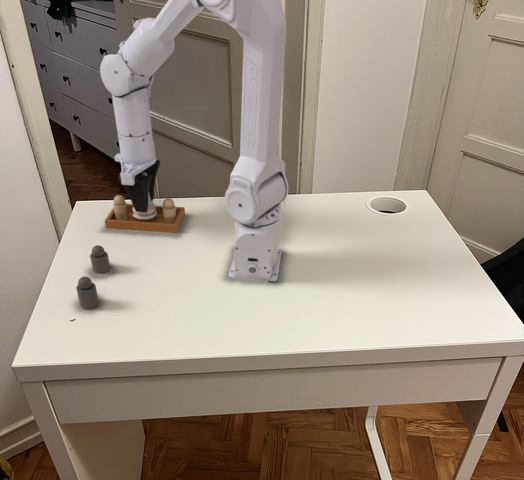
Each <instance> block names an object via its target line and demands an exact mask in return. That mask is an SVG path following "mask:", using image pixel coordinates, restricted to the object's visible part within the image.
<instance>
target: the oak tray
mask: <svg viewBox="0 0 524 480" xmlns="http://www.w3.org/2000/svg"><path fill="white" fill-rule="evenodd" d="M154 205H155V206H156V211H157V214H156V216H155V218H153V219H151V220H146V221H141V220H137V219H136V218H135V217H134V216H133V204H132V203H127V210H128V216H129V220H128V221H123V220H116V218H115V212H114V207H113V208H112V209H111V211H110V212H109V213H108V215H107V217H106V218H105V219H104V224H105V229H109V230H123V231H138V232H150V233H151V232H153V233H169V234H177V233H178V231H179V229H180V228H181V226H182V223H183V221H184V218H185V216H186V209H185V207H184V206H176V216H177V218H176V220H175V222H174V224H168V223H164V218H163V209H162V207H163V205H157V204H154Z"/></svg>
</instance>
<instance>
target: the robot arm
mask: <svg viewBox="0 0 524 480" xmlns="http://www.w3.org/2000/svg"><path fill="white" fill-rule="evenodd" d="M204 9H207V10H208V11H210V12H211V13H213V14H214V15H215V16H216V17H218V18H219V19H221V20H222V21H223V22H225V23H226V25H228V26H230V27H231V28H233V29H234V30H235V31H236V33H237V34H238V35H239V36H240V37H241V38H242V41H243V45H242V47H243V50H242V79H241V111H240V112H241V114H240V139H239V140H240V142H239V143H240V144H239V145H240V146H239V147H240V148H239V157H238V159H237V161H236V163H235V166H234V167H233V169H232V171H231V172H230V176H229V185H228V187H227V189H226V190H225V193H224V205H225V209H226V210H227V212H228V214H229V215H230V217H231V218H232V220H233V222H234V246H233V253H234V255H233V258H232V262H231V266H230V269H229V272H228V277H229V278H237V279H252V280H264V281H268V282H277V281H278V278H279V272H280V266H281V260H282V252H283V251H282V250H281V249H280V248H279V241H280V240H279V239H280V238H279V237H280V215H281V213H280V211H281V209H282V207H281V206H282V203H283V202H284V201H285V200H286V198H287V197H288V195H289V191H290V190H289V189H290V188H289V186H290V185H289V182H288V181H289V180H288V178H287V174H286V162H285V161H284V160H283V159H282V158H280V157H279V156H278V144H279V133H280V121H281V119H280V118H281V105H282V95H283V92H282V91H283V81H284V67H285V66H284V65H285V54H286V43H287V42H286V41H287V19H286V15H285V12H284V8H283V4H282V0H167V1H166V3H165V5H164V6H163V7H162V9H161V10H160V11H159V13H158V14H157V16H156V17H145V18H140V19H137V20H136V21H135V22H134V23H133V28H134V30H133V31H132V33H131V34H130V35H129V37H128V38H127V39H126V40H124V41H121V42H120V43H119V45H118V47H119V49H118V51H117V53H115V54H113V53H111V54H110V53H109V54H106V55H104V56H103V58H102V61H101V62H100V67H99V73H100V78H101V81H102V84H103V85H104V87H105V88H106V90H107V91H108V92H109V93H110V95H111V100H112V104H113V111H114V112H113V113H114V118H115V119H114V120H115V126H116V131H117V139H118V146H119V153H116V154H115V156H114V161H115V162H118V163H120V166H121V167H120V168H121V171H120V172H119V174H118V176H117V178H118V182H119V184H121V186H122V187H123V188H124V190H125V191H126V193H127V195H128V197H129V199H130V202H131V204H133V206H134V209H135V211H136V212H147V210H148V193H149V195H150V198H151V201H152V202H153V201H154V197H155V189H156V187H155V186H156V178H157V175H158V171H159V169H160V166H161V161H160V160H159V159H157V155H156V146H155V141H154V137H153V129H152V127H153V126H152V118H151V111H150V110H151V109H150V101H149V100H150V97H152V94H151V88H152V87H151V86H152V85H153V82H154V79H155V73H156V72H157V71H158V69H159V68H160V67H161V66H162V65H163V64H164V63H165V62H166V61H167V59H169V57H170V56H172V54H173V53H174V51H175V48H176V47H175V45H176V43H175V38H176V37H177V36H178V35H179V33H181V32H182V31H183V30H184V29H185V28H186V27H187V26H188V25H189V24H190V23H191V22H192V21H193V19H195V17H197V16H198V15H199V14H200V13H201V12H202V11H203V10H204ZM141 172H143V173H142V174H141ZM145 172H146V173H147V175H143V174H144V173H145ZM149 187H150V188H149Z"/></svg>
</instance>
